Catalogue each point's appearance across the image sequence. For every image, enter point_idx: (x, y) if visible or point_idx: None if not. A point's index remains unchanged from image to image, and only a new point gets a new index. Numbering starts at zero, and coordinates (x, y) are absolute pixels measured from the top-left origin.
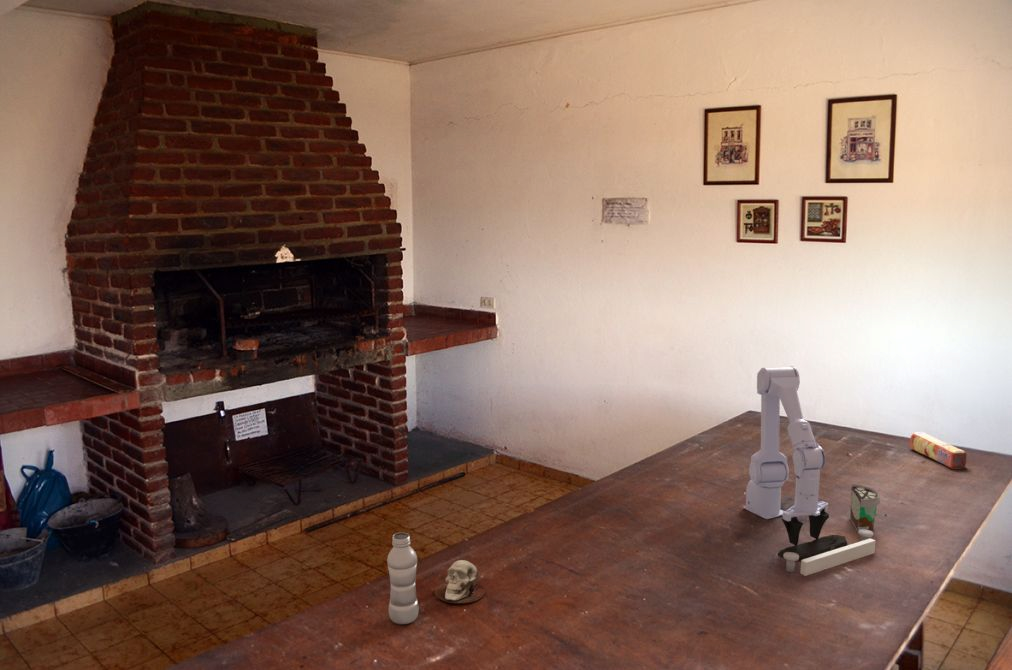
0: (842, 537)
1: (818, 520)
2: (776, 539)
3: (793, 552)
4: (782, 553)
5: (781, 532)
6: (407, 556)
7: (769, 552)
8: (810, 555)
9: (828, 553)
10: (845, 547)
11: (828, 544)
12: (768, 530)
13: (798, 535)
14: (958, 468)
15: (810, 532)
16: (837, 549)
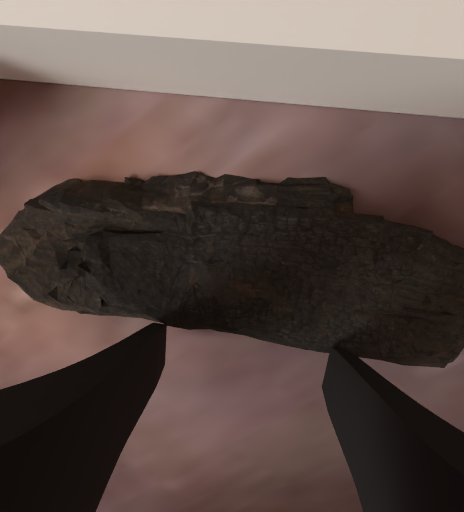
0: (9, 248)
1: (75, 440)
2: (293, 444)
3: (417, 309)
4: (454, 343)
5: (209, 466)
6: None
7: (459, 392)
8: (381, 222)
9: (459, 22)
10: (194, 12)
11: (165, 238)
12: (240, 505)
13: (383, 390)
14: None
15: (155, 382)
16: (300, 30)
